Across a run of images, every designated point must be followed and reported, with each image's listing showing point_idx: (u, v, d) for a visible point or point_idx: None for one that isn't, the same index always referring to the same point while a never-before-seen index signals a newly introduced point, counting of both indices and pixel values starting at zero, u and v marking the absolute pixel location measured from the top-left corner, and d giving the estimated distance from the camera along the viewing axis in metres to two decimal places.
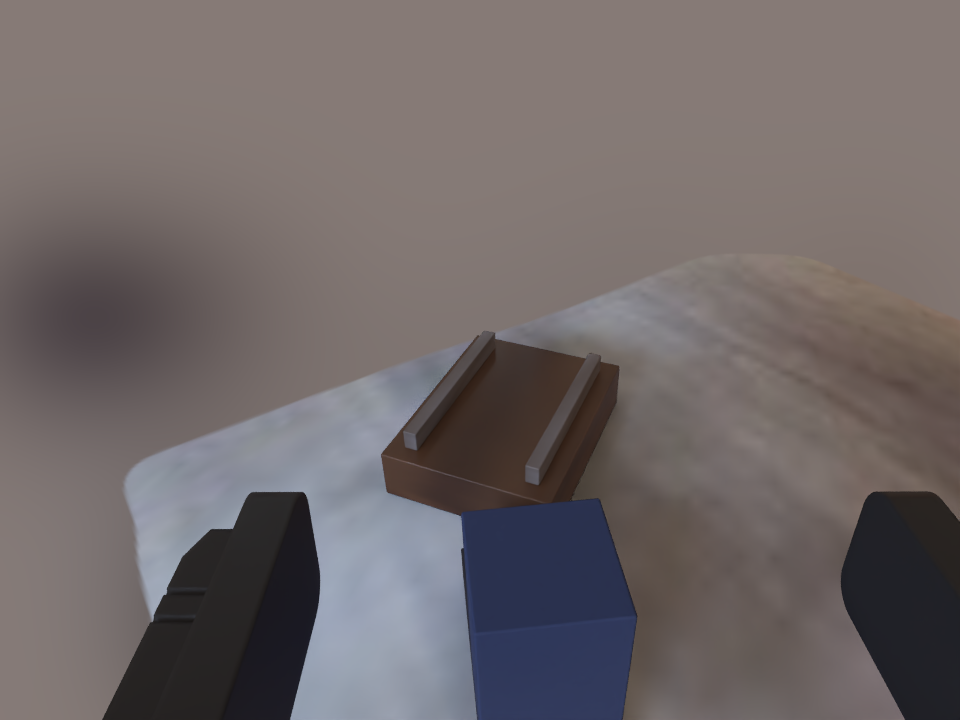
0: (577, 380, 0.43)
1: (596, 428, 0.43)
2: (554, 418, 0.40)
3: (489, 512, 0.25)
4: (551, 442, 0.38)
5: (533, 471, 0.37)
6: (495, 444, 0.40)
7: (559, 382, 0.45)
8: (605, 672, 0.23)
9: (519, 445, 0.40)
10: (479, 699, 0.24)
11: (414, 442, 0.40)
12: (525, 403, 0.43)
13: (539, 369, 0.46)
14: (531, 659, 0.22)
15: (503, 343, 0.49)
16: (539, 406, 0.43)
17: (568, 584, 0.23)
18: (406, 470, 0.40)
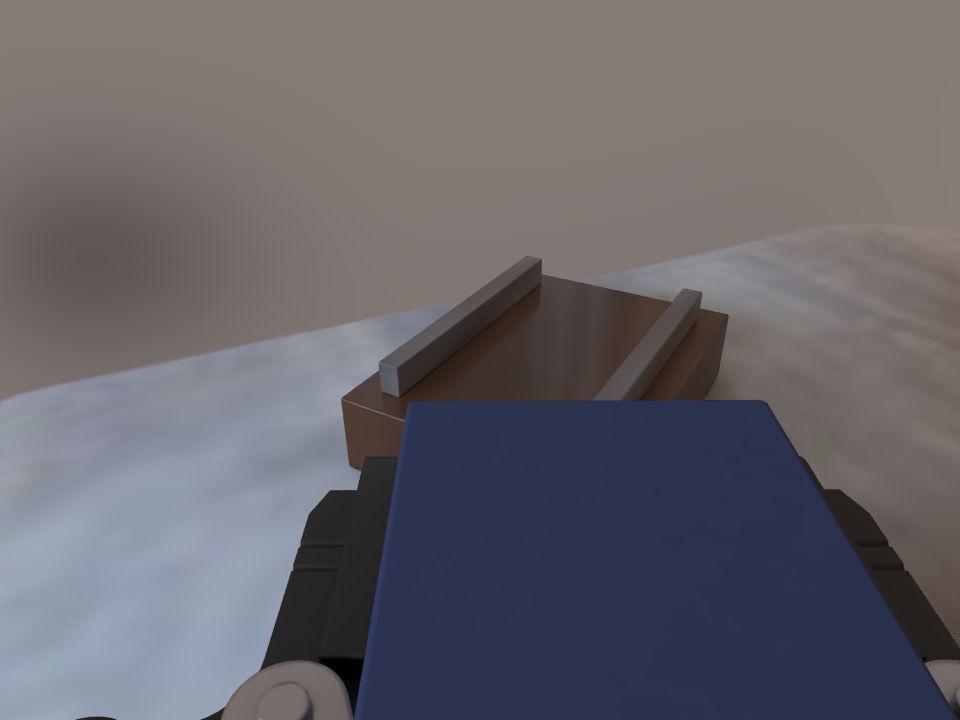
0: (665, 318, 0.27)
1: (691, 397, 0.27)
2: (628, 363, 0.24)
3: (478, 406, 0.10)
4: (621, 393, 0.23)
5: None
6: (526, 398, 0.25)
7: (635, 327, 0.29)
8: None
9: None
10: None
11: (395, 382, 0.24)
12: (580, 349, 0.28)
13: (605, 310, 0.30)
14: None
15: (553, 279, 0.33)
16: (601, 354, 0.27)
17: (696, 599, 0.07)
18: (378, 426, 0.24)
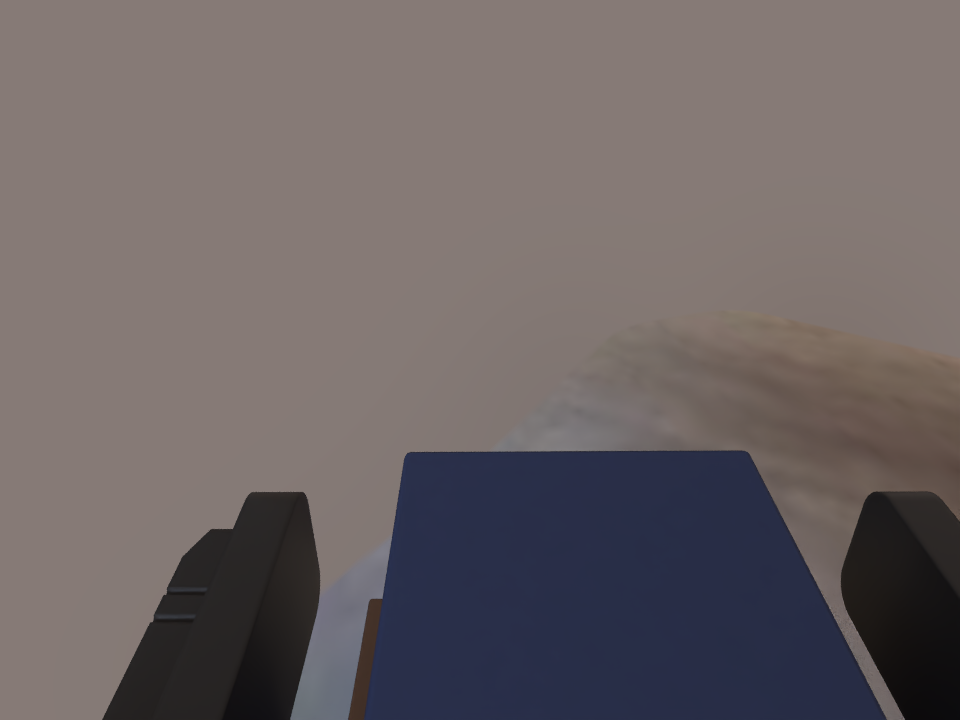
0: None
1: None
2: None
3: (472, 458, 0.10)
4: None
5: None
6: None
7: None
8: None
9: None
10: None
11: None
12: None
13: None
14: None
15: None
16: None
17: (677, 659, 0.07)
18: None
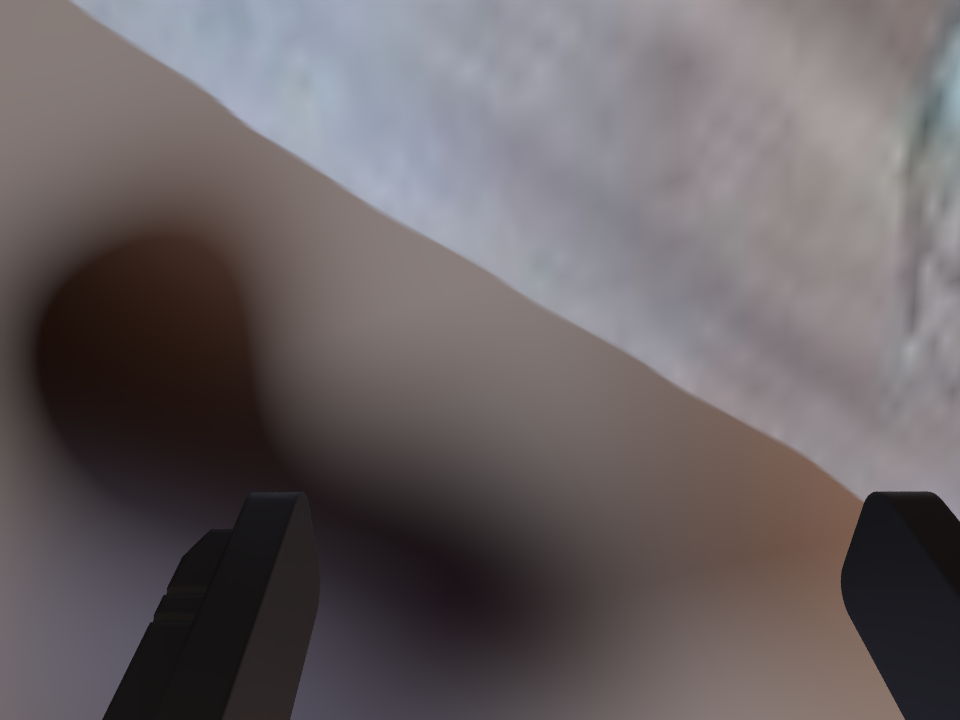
0: None
1: None
2: None
3: None
4: None
5: None
6: None
7: None
8: None
9: None
10: None
11: None
12: None
13: None
14: None
15: None
16: None
17: None
18: None
